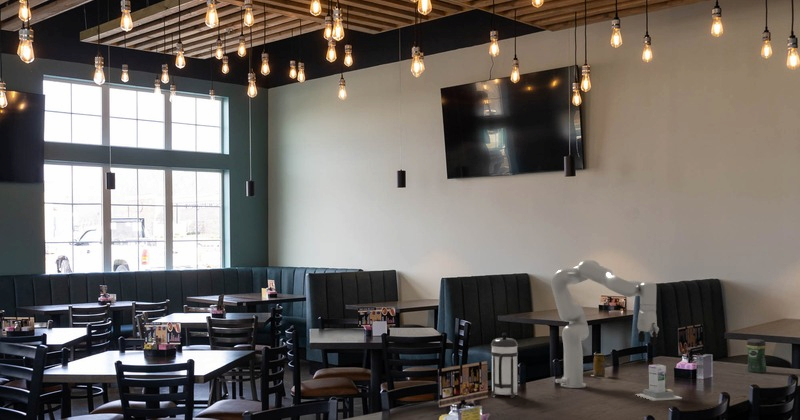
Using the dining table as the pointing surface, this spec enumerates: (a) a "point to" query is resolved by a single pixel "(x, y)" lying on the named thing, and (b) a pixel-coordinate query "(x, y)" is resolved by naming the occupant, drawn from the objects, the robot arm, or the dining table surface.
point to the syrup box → (657, 378)
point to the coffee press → (504, 366)
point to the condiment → (599, 366)
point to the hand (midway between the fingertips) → (647, 343)
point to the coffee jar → (756, 355)
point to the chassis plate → (658, 395)
